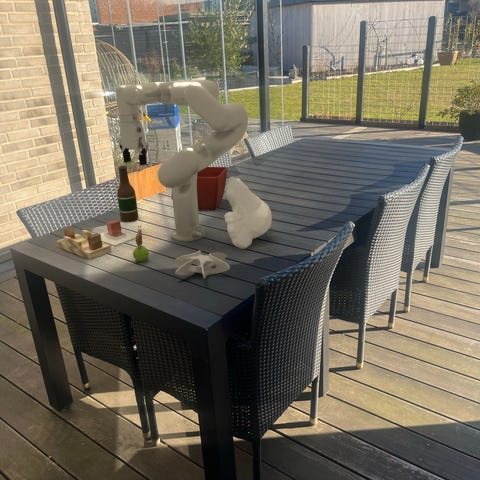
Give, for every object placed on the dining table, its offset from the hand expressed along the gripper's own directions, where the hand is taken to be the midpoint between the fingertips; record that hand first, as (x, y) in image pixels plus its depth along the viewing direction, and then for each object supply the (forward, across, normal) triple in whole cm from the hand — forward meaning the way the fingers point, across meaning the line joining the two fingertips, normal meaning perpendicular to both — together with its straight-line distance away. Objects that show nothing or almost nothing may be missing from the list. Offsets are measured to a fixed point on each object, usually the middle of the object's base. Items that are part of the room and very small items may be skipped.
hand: (135, 163), depth 187 cm
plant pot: (+29, +1, -38) cm, 48 cm away
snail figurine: (+28, -23, +20) cm, 42 cm away
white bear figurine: (+28, -42, -14) cm, 53 cm away
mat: (+28, +4, +12) cm, 31 cm away
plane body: (+28, +4, +26) cm, 39 cm away
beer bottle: (+28, +17, -6) cm, 34 cm away
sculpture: (+29, -48, +15) cm, 58 cm away
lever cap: (+28, +4, +11) cm, 30 cm away
